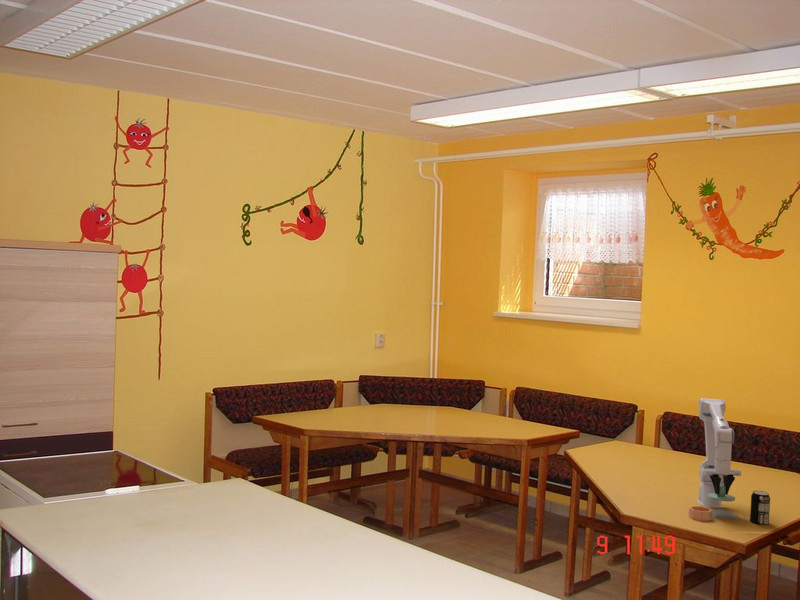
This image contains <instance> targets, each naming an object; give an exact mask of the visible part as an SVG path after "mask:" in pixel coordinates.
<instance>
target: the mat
mask: <svg viewBox="0 0 800 600" xmlns="http://www.w3.org/2000/svg"><path fill="white" fill-rule="evenodd" d="M710 509H711V510H713V511H712V520H743V518H742V517H740V516H738V515H737V514H734V512H731V511H730V510H728V509H725V508H724V509H723V508H710Z"/></svg>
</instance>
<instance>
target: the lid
mask: <svg viewBox="0 0 800 600" xmlns="http://www.w3.org/2000/svg"><path fill="white" fill-rule="evenodd" d="M707 497H708V498H710V499H713V500H717V501H721V502H726V503H728V502H734V501H736V497H735V496H733V495H731V494H728V495H726V486H724V484H723V485H720V489H719V495H718V494H715V493H709V494H708V496H707Z"/></svg>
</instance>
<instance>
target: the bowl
mask: <svg viewBox="0 0 800 600" xmlns="http://www.w3.org/2000/svg"><path fill="white" fill-rule="evenodd" d="M711 509H712V508H711V507H706V506H703V505H691V506H690V507H689V508H688V517H689V518H690V519H692V520H695V521H700V522H710V521H712V520H713V519H712V511H713V510H711Z"/></svg>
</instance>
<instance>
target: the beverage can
mask: <svg viewBox="0 0 800 600" xmlns="http://www.w3.org/2000/svg"><path fill="white" fill-rule="evenodd" d="M770 504H771V496H770V493H769V492H768V491H763V490H753V491H752V493H751V495H750V514H749V515H750V516H749V522H750V523H752V524H755V525H760V526H766V525H769V523H770V509H771V506H770Z"/></svg>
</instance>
